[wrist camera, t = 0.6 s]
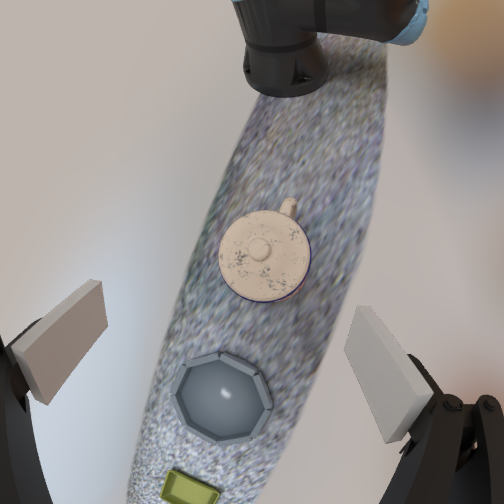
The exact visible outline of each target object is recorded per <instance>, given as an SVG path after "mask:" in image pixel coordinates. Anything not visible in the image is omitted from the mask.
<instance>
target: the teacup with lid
mask: <svg viewBox="0 0 504 504" xmlns="http://www.w3.org/2000/svg"><path fill="white" fill-rule="evenodd" d="M296 211H297V201H296V200H295V199H294V198H291V197H287V198H286V199H285V200H284V201H283V203H282V205H281V207H280V209H279V212H276V211H270V210H261V211H255V212H251V213H249V214H246V215H244V216H242V217H241V218H239V219H238V220H236V221H235V222H234V223H233V224H232V225H231V226H230V227H229V228H228V230H227V231H226V233H225V234H224V236H223V238H222V241H221V244H220V248H219V256H218V261H219V268H220V271H221V274H222V277H223V279H224V281H225V282H226V284H227V285H228V286H229V287H230V289H231V290H232V291H233V292H235V293H236V294H237V295H239V296H240V297H242V298H244V299H246V300H249V301H253V302H258V303H269V302H280V301H284V300H287V299H289V298H291V297H292V296H294V295H295V294H296V293H297V292H298V291H299V290H300V289H301V288H302V286H303V285H304V283H305V281H306V278H307V275H308V271H309V268H310V264H311V247H310V242H309V239H308V237H307V235H306V233H305V231H304V230H303V228H302V227H301V226H300V225H299V224H298V223H297V222H296V221H295V220H294V219H295V215H296Z"/></svg>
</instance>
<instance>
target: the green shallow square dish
mask: <svg viewBox="0 0 504 504" xmlns="http://www.w3.org/2000/svg"><path fill="white" fill-rule="evenodd" d="M219 496H220V494H219V492H218V491H217V490H215V489H214V488H211V487H209V486H207V485H205V484H202V483H200V482H198V481H196V480H194V479H192V478H190V477H188V476H186V475H184V474H182V473H180V472H177V471H174V470H168V472H167V475H166V478H165V482H164V484H163V487H162V490H161V493H160V498H161V499H163V500H164V501H166V502H168V503H170V504H215V503H216V501H217V500H218V498H219Z"/></svg>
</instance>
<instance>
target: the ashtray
mask: <svg viewBox="0 0 504 504" xmlns="http://www.w3.org/2000/svg"><path fill="white" fill-rule="evenodd" d="M257 369H258V368H256V367H254V366H252V365H251V364H250V363H248V362H247V361H245V360H243V359H241V358H239V357H236V356H233V355H230V354H228V353H226V352H224V353H222V354H221V352H217V353H214V354H210V355H206V356H203V357H200V358H196V359H193V360H189V361H187V362H185V364H182V366H181V368H180V370H179V373H178V375H177V377H176V379H175V382H174V384H173V386H172V388H171V391H170V393H172V394H173V395H171V396H170V397H171V400H172V403H173V405H174V408H175V410H176V412H177V415H178V417H179V420H180V422H181V424H182V426H184V425H187V426H186V428H185V429H186V430H188V431H189V432H191V433H193V434H195V435H196V436H198V437H200V438H202V439H203V440H205V441H207V442H209V443H211V444H213V445H214V446H215V445H216V444H217V443H218V445H219V446H226V445H232V444H238V443H243V442H249V441H252V439H253V438H254V439H255V438H256V436H257V435H258V433H259V431H260V430H261V428H262V426H263V425H264V423H265V421H266V420H267V418H268V416H269V415H270V413H271V411H272V405H273V402H272V400H271V397H270V392H269V388H268V385H267V383H266V381H265V379H264V378H263V376H262V373H261V372H259V371H258V370H257Z"/></svg>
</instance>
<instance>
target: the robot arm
mask: <svg viewBox="0 0 504 504" xmlns="http://www.w3.org/2000/svg"><path fill="white" fill-rule="evenodd" d="M231 1H232V2H233V5H234V8H235V11H236V14H237V17H238V19H239V23H240V26H241V29H242V32H243V35H244V38H245V42H246V49H245V56H244V63H243V69H244V74H245V77H246V80H247V82H248V84H249V85H250V86H251V87H252V88H253V89H255V90H256V91H258V92H260V93H263V94H266V95H270V96H276V97H294V96H300V95H304V94H307V93H310V92H312V91H314V90H316V89H318V88H319V87H320V86H322V85H323V84H324V82H325V81H326V79H327V77H328V60H327V57H326V55H325V53H324V51H323V48H322V46H321V44H320V42H319V40H318V38H317V32H321V33H330V34H339V35H346V36H353V37H359V38H364V39H370V40H375V41H378V42H380V43H391V44H396V45H401V46H406V45H410V44H412V43H414V42H415V41H416V40H417V39H418V38H419V36H420V35H421V33H422V31H423V29H424V27H425V25H426V21H427V14H426V13H427V11H428V8H429V3H428V0H231ZM107 327H108V323H107V317H106V311H105V304H104V297H103V289H102V282H101V281H97V280H91V279H90V280H89V281H87V282H86V283H85V284H83V285H82V286H81V287H80V288H78V289H77V290H76V291H75V292H73V293H72V294H71V295H70V296H68V297H67V298H66V299H65V300H64V301H62V302H61V303H60V304H59V305H57V306H56V307H55V308H54V309H53V310H51V311H50V312H49V313H48V314H47V315H46V316H44V317H43V318H40V319H38V320H36V321H34V322H33V323H32V324H30V325H29V326H28V327H27V329H25V330H24V331H23V332H22V333H20V334H19V335H18V336H17V337H16V338H15V339H14V340H13V341H12V342H10V343H9V344H8V345H7V346H6V347H4V344H3V341H2V339H1V336H0V504H53V502H52V499H51V497H50V494H49V491H48V488H47V485H46V482H45V478H44V475H43V472H42V468H41V465H40V461H39V456H38V453H37V448H36V443H35V438H34V433H33V427H32V421H31V413H30V405H29V399H28V396H27V395H26V393H27V392H28V391H29V390H30V391H31V393H32V395H33V397H34V398H35V400H37V401H39V402H41V403H43V404H45V405H48V404H49V403H50V402H51V400H52V399H53V397H54V396H55V395H56V393H57V392H58V390H59V389H60V388H61V386H62V385H63V384H64V382H65V381H66V379H67V378H68V377H69V375H70V374H71V373H72V371H73V370H74V369H75V367H76V366H77V365H78V363H79V362H80V361H81V359H82V358H83V357H84V356H85V354H86V353H87V352H88V351H89V349H90V348H91V347H92V345H93V344H94V343H95V342H96V340H97V339H98V338H99V337H100V335H101V334H102V333H103V331H104V330H105V329H106V328H107ZM344 351H345V353H346V355H347V357H348V360H349V362H350V364H351V366H352V368H353V370H354V373H355V375H356V377H357V379H358V381H359V384H360V386H361V388H362V390H363V393H364V395H365V397H366V399H367V402H368V404H369V406H370V408H371V411H372V413H373V415H374V418H375V420H376V423H377V425H378V427H379V430H380V432H381V434H382V437H383V439H384V442H385V444H388V443H392V442H396V441H401V440H402V439H403V437H404V436H405V435H406V433H407V432H409V434H410V436H411V438H410V440H409V441H408V442H407V443H406V445H405V446H404V447H403V448H402V450H401V451H400V452H399V453H400V454H401V453H402V452H403V451H404V452H403V455H402V457H401V460H400V462H399V464H398V467H397V469H396V471H395V473H394V475H393V477H392V479H391V482H390V484H389V486H388V488H387V489H386V491H385V494H384V495H383V497H382V499H381V501H380V503H379V504H504V416H503V412H502V409H501V406H500V404H499V402H498V401H497V400H496V398H494V397H493V396H490V395H482V396H480V397H479V399H478V400H477V402H476V403H475V404H463V402H462V400H460V399H459V398H458V397H456V396H454V395H451V394H444V393H443V392H442V391H441V389H440V388H439V386H438V385H437V384H436V382H435V381H434V380H433V378H432V377H431V375H429V373H428V371H427V370H426V369H424V366H423V365H422V363H421V362H420V361H419V360H418V359H417V358H415V357H414V356H413V355H411V354H406V353H405V351H404V350H403V349H402V347H401V346H400V345H399V343H398V342H397V341H396V339H395V338H394V337H393V335H392V334H391V333H390V331H389V330H388V329H387V327H386V326H385V325H384V324H383V322H382V321H381V320H380V319H379V317H378V316H377V315H376V313H375V312H374V311H373V310H372V308H371V307H370V306H357V307H356V311H355V315H354V318H353V322H352V325H351V328H350V332H349V335H348V339H347V341H346V345H345V348H344ZM476 442H477V448H476V449H475V447H474V444H475V443H476Z"/></svg>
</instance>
